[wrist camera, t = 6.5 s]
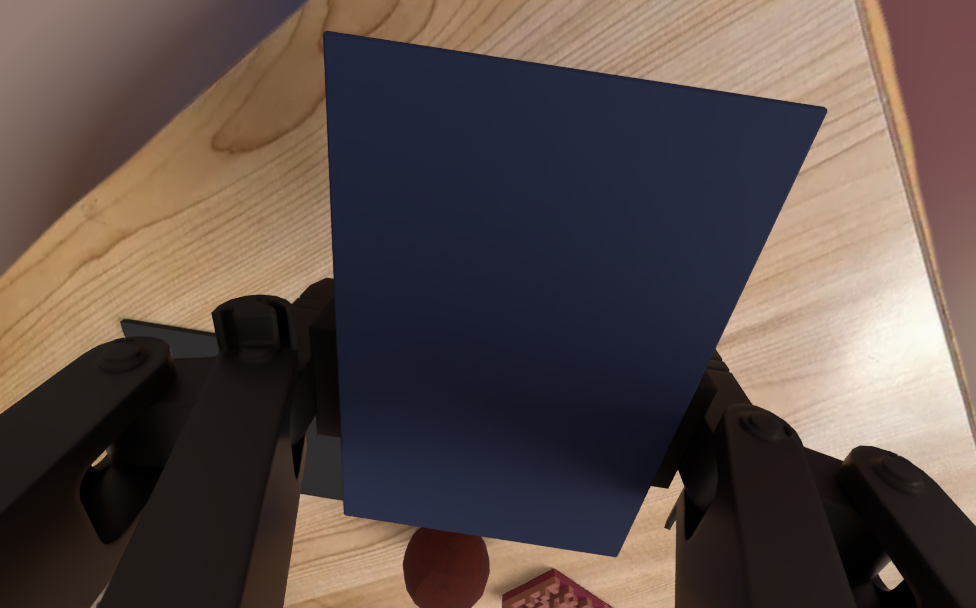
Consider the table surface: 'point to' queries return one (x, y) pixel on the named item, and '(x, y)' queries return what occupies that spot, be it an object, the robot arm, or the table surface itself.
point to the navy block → (533, 279)
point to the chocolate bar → (551, 594)
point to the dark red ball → (445, 568)
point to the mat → (321, 450)
